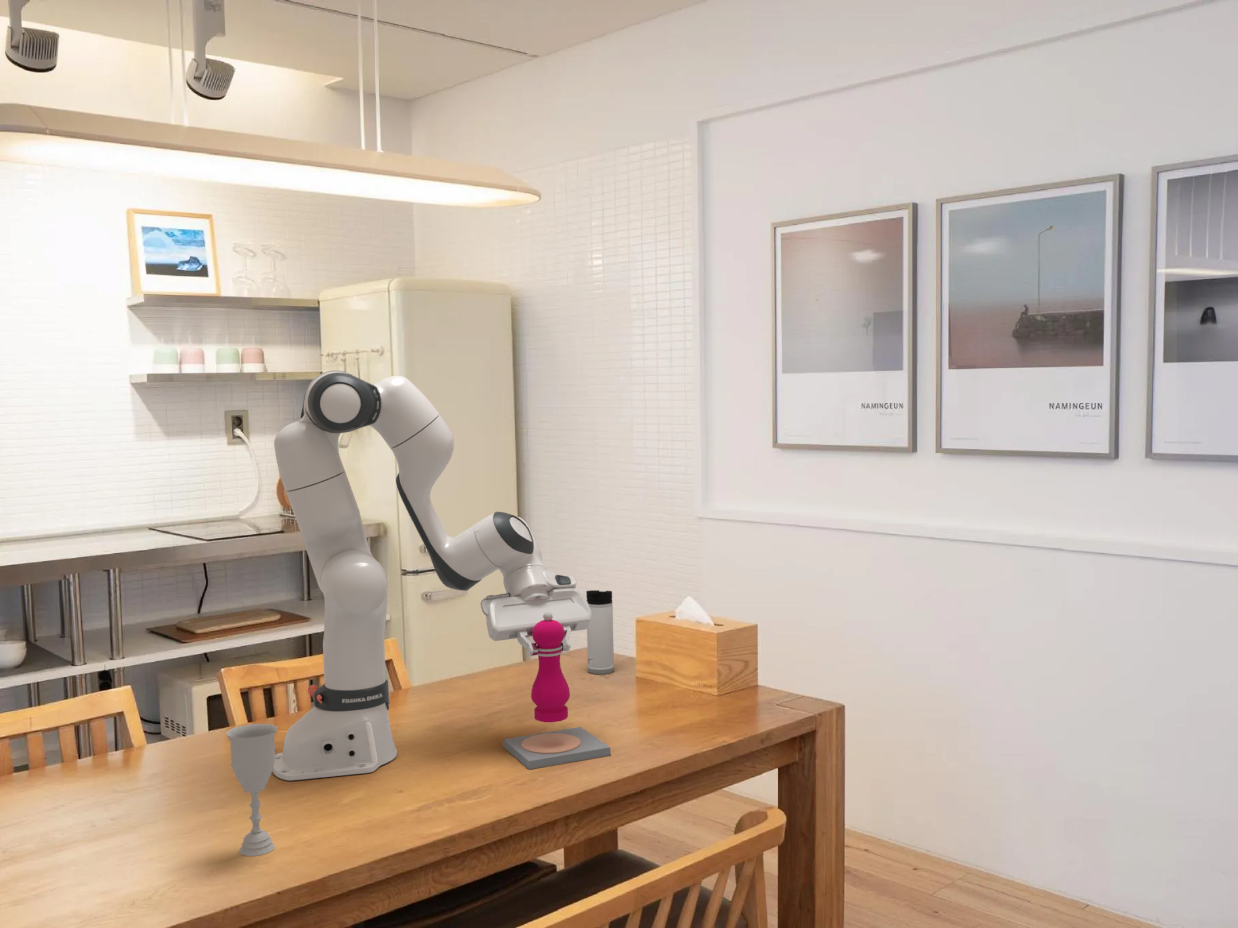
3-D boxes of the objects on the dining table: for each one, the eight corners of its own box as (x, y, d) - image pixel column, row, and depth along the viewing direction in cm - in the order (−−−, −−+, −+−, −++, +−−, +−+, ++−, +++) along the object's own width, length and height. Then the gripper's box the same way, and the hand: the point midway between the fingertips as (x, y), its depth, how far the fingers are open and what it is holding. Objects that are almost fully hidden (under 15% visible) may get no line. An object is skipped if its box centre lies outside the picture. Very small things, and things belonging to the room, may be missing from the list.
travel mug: (583, 674, 261) (582, 590, 259) (592, 667, 267) (590, 585, 266) (609, 675, 259) (607, 591, 257) (617, 668, 265) (615, 586, 264)
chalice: (287, 838, 167) (283, 722, 166) (275, 857, 161) (270, 737, 159) (239, 840, 167) (234, 724, 166) (225, 859, 160) (219, 738, 159)
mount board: (529, 769, 196) (528, 759, 196) (503, 746, 208) (503, 737, 208) (610, 755, 203) (610, 745, 202) (580, 734, 215) (580, 725, 215)
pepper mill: (569, 723, 201) (565, 615, 200) (529, 723, 201) (526, 616, 200) (571, 711, 208) (568, 607, 207) (533, 712, 208) (530, 608, 207)
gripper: (481, 587, 205) (500, 649, 197) (582, 576, 213) (604, 635, 205) (475, 606, 209) (493, 668, 201) (574, 595, 218) (595, 654, 210)
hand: (550, 651), depth 203 cm, fingers closed on pepper mill, 5 cm apart
